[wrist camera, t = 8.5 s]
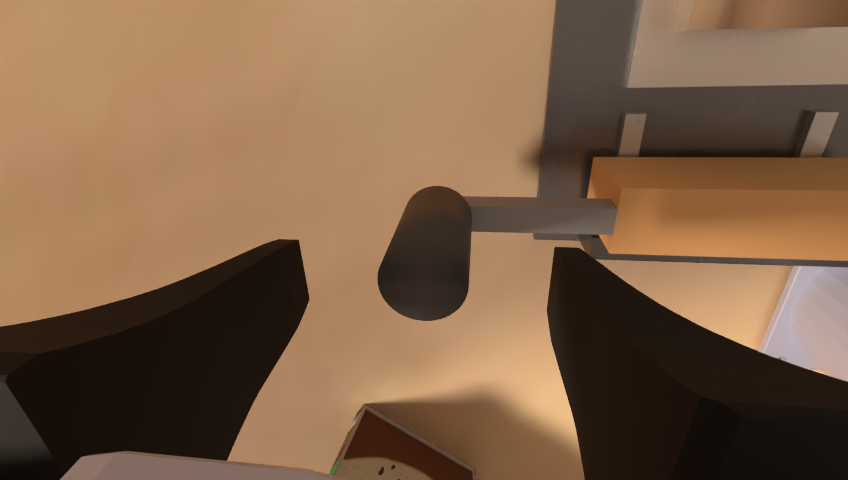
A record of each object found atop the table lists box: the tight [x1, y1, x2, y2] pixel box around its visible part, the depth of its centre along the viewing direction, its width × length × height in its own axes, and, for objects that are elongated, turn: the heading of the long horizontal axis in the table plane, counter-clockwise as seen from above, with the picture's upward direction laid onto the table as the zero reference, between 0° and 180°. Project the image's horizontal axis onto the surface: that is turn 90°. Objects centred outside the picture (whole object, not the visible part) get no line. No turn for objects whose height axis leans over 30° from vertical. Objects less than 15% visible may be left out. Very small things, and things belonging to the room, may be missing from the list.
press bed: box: [533, 0, 848, 267], centre depth 15 cm, size 14×18×3 cm
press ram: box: [378, 157, 848, 321], centre depth 14 cm, size 18×2×8 cm, turn 92°
